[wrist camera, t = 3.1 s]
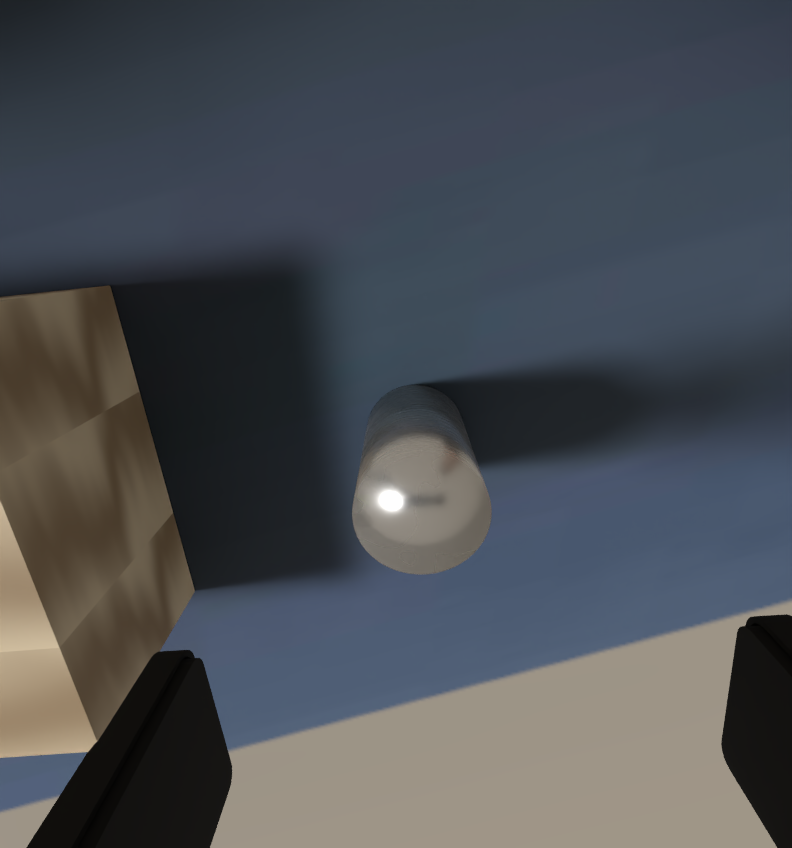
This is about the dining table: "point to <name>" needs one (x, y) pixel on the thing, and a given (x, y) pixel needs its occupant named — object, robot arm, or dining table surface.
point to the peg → (419, 484)
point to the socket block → (77, 524)
